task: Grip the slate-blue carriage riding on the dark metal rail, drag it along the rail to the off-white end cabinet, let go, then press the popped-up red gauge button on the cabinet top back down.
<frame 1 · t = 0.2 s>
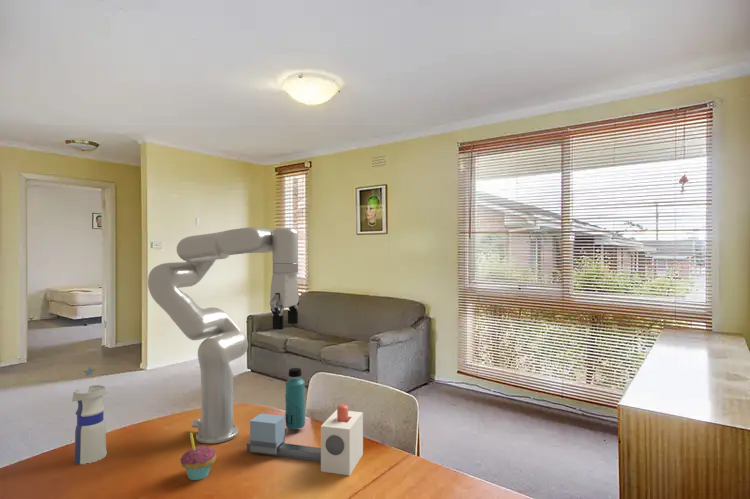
hand: (285, 326, 129), 36 cm above the table, tool pointing down, fingers open, 9 cm apart
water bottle: (89, 458, 121), on the table
carriage: (267, 433, 124), point 5 cm above the table, slide at 0.0 cm
cupcake: (198, 476, 111), on the table
cabinet: (342, 462, 118), on the table
gauge button: (342, 418, 118), point 12 cm above the table, slide at 0.0 cm
beverage bottle: (295, 430, 139), on the table
rail: (288, 455, 122), on the table
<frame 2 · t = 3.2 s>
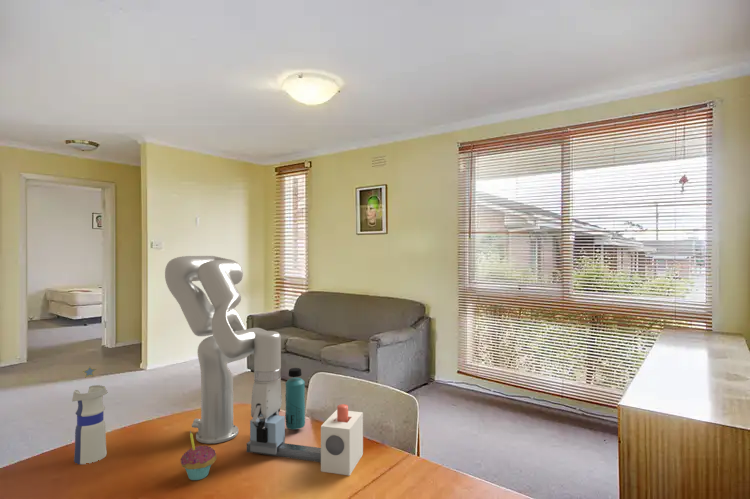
hand: (267, 436, 124), 5 cm above the table, tool pointing down, fingers closed on carriage, 5 cm apart
carriage: (267, 433, 124), point 5 cm above the table, slide at 0.0 cm, touching gripper
everything else where it was.
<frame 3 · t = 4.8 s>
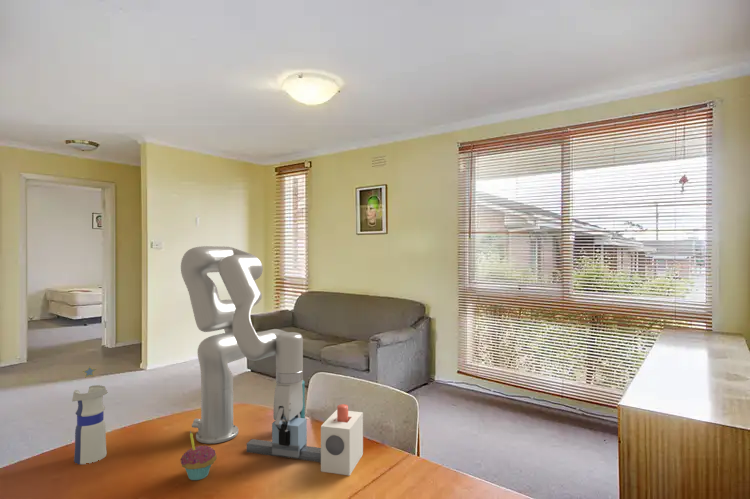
hand: (289, 439, 122), 5 cm above the table, tool pointing down, fingers closed on carriage, 5 cm apart
carriage: (289, 436, 122), point 5 cm above the table, slide at 7.0 cm, touching gripper
everything else where it was.
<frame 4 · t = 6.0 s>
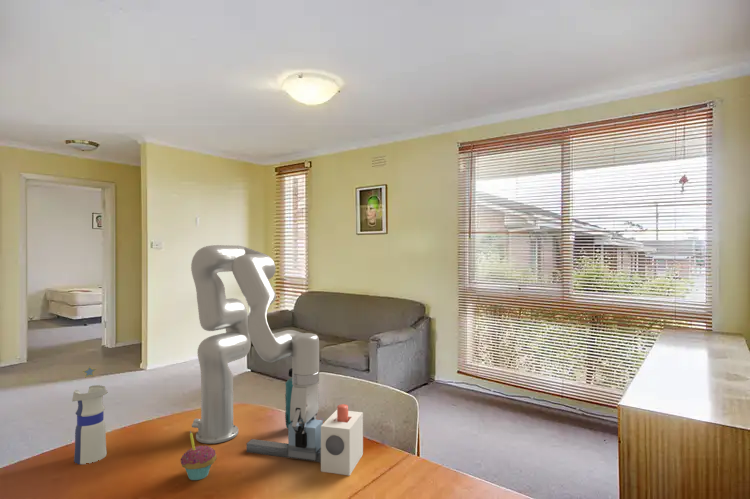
hand: (305, 441, 121), 5 cm above the table, tool pointing down, fingers closed on carriage, 5 cm apart
carriage: (305, 438, 121), point 5 cm above the table, slide at 12.0 cm, touching gripper
everything else where it was.
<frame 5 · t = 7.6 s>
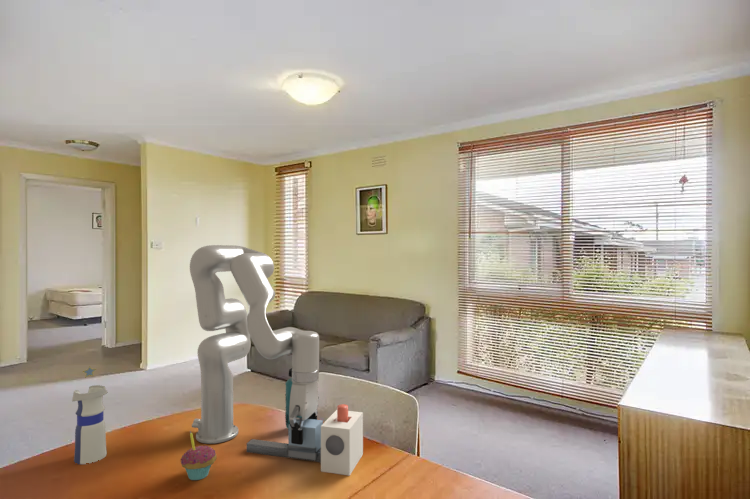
hand: (304, 436, 121), 6 cm above the table, tool pointing down, fingers open, 9 cm apart
carriage: (305, 438, 121), point 5 cm above the table, slide at 12.0 cm
everything else where it was.
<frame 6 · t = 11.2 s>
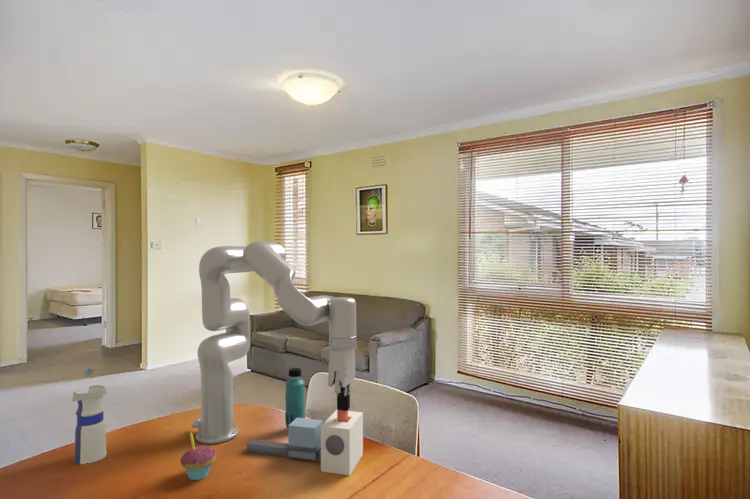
hand: (343, 409, 118), 15 cm above the table, tool pointing down, fingers closed
gauge button: (342, 421, 118), point 11 cm above the table, slide at 0.8 cm, touching gripper
everything else where it was.
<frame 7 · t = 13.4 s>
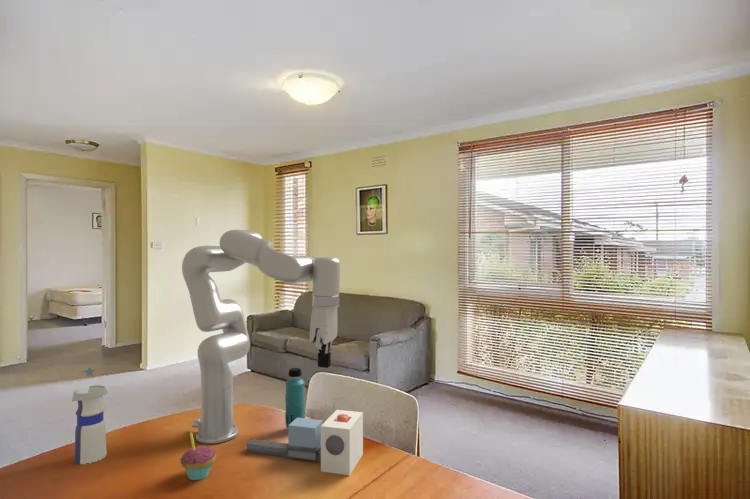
hand: (324, 366, 120), 26 cm above the table, tool pointing down, fingers closed
gauge button: (342, 428, 118), point 9 cm above the table, slide at 2.7 cm
everything else where it was.
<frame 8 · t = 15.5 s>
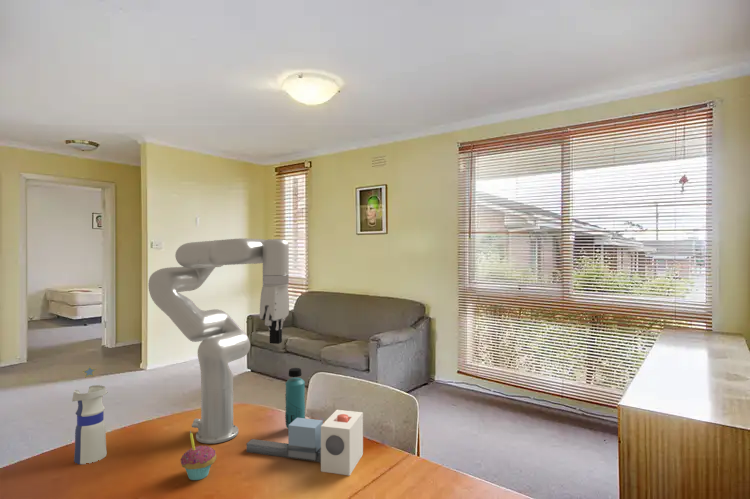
hand: (275, 342, 127), 31 cm above the table, tool pointing down, fingers closed
nothing on the table moved.
at the end: carriage slide at 12.0 cm; gauge button slide at 2.7 cm; the gripper is holding nothing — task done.
